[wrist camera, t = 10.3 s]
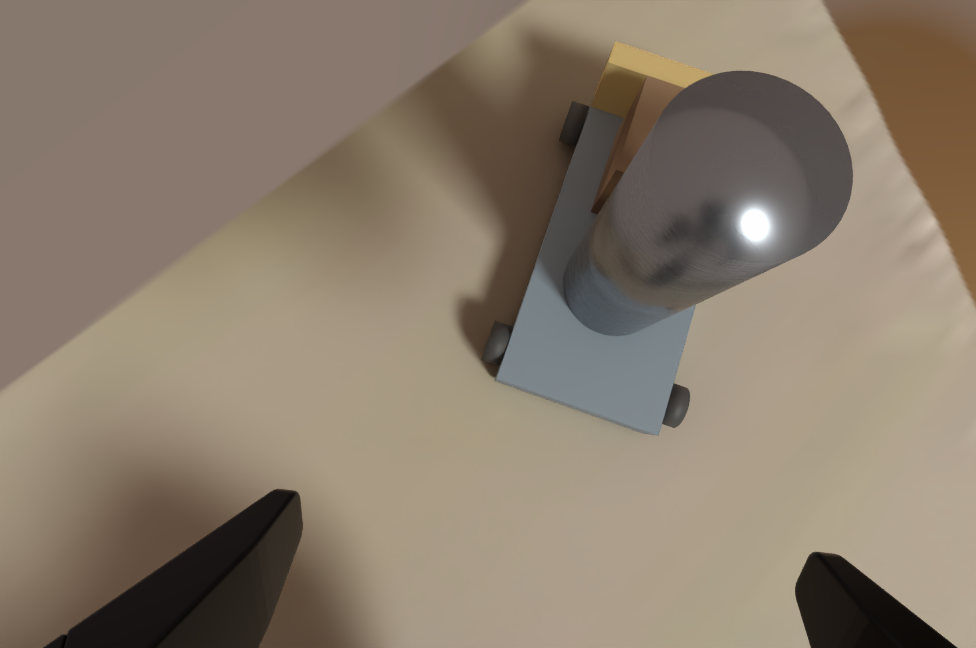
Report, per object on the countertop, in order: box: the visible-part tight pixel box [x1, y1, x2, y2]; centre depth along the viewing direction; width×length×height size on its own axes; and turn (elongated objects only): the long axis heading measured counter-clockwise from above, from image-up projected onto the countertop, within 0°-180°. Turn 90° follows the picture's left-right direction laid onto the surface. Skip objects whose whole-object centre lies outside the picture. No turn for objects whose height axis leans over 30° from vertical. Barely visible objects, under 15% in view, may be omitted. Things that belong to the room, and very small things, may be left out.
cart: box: [481, 41, 714, 436], centre depth 22 cm, size 14×9×5 cm, turn 161°
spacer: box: [563, 71, 853, 336], centre depth 16 cm, size 4×4×11 cm
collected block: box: [591, 75, 685, 214], centre depth 21 cm, size 4×4×4 cm
